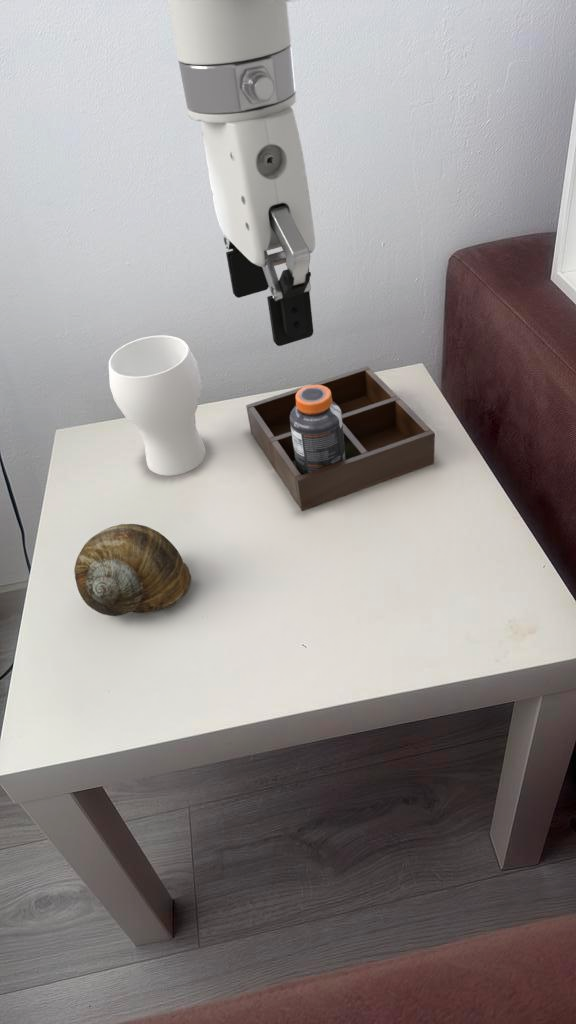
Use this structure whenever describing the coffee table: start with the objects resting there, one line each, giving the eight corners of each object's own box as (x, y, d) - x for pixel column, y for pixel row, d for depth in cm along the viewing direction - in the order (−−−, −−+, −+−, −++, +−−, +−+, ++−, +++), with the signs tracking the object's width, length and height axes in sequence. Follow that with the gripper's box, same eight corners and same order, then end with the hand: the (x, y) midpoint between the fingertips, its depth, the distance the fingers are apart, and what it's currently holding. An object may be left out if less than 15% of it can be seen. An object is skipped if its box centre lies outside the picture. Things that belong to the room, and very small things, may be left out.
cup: (179, 423, 101) (153, 324, 91) (233, 449, 95) (212, 347, 85) (119, 464, 96) (85, 364, 86) (173, 494, 90) (143, 390, 80)
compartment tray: (434, 463, 89) (435, 433, 86) (301, 511, 85) (297, 481, 82) (369, 394, 101) (367, 365, 98) (251, 433, 97) (245, 405, 94)
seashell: (80, 633, 75) (55, 581, 70) (93, 567, 82) (70, 515, 77) (190, 620, 75) (172, 566, 69) (193, 555, 82) (177, 501, 76)
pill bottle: (353, 462, 89) (348, 382, 82) (336, 492, 86) (328, 412, 78) (308, 453, 92) (299, 375, 84) (289, 483, 88) (277, 404, 80)
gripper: (344, 95, 44) (358, 347, 56) (247, 53, 57) (275, 266, 68) (227, 123, 43) (266, 376, 54) (154, 73, 55) (198, 288, 67)
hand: (271, 314), depth 61 cm, fingers open, 9 cm apart
